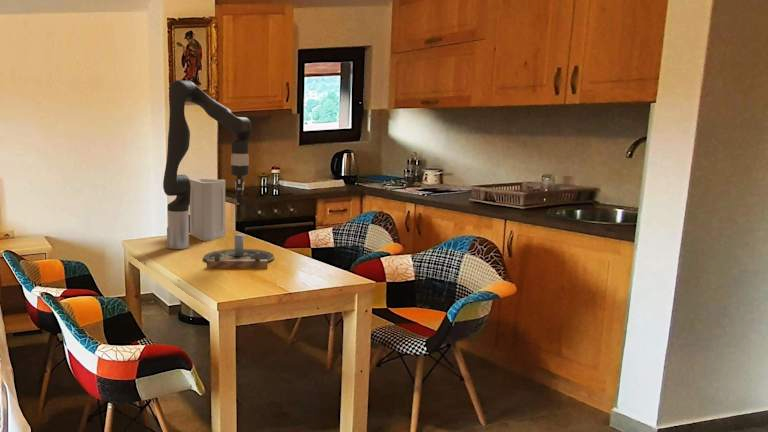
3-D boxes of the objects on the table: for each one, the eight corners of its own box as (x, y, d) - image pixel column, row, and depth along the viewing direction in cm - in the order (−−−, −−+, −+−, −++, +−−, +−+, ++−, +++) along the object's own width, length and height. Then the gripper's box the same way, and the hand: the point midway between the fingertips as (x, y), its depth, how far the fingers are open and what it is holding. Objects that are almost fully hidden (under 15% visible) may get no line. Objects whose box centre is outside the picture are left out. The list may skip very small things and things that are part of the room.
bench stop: (206, 268, 275) (206, 253, 274) (207, 266, 278) (207, 252, 277) (267, 268, 279) (267, 253, 278) (267, 266, 282) (267, 252, 281)
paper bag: (231, 238, 338) (232, 182, 334) (202, 240, 330) (202, 183, 325) (217, 232, 354) (217, 178, 349) (189, 234, 345) (188, 178, 341)
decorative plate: (236, 245, 314) (288, 254, 300) (236, 249, 314) (288, 258, 300) (187, 257, 288) (242, 267, 274) (188, 261, 289) (242, 271, 274)
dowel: (234, 256, 292) (234, 235, 291) (234, 254, 296) (234, 234, 294) (243, 256, 293) (243, 235, 291) (243, 254, 296) (243, 234, 295)
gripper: (231, 162, 300) (231, 199, 302) (230, 165, 286) (230, 203, 288) (249, 162, 301) (249, 199, 303) (248, 165, 287) (248, 203, 290)
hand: (239, 201), depth 296 cm, fingers open, 8 cm apart
